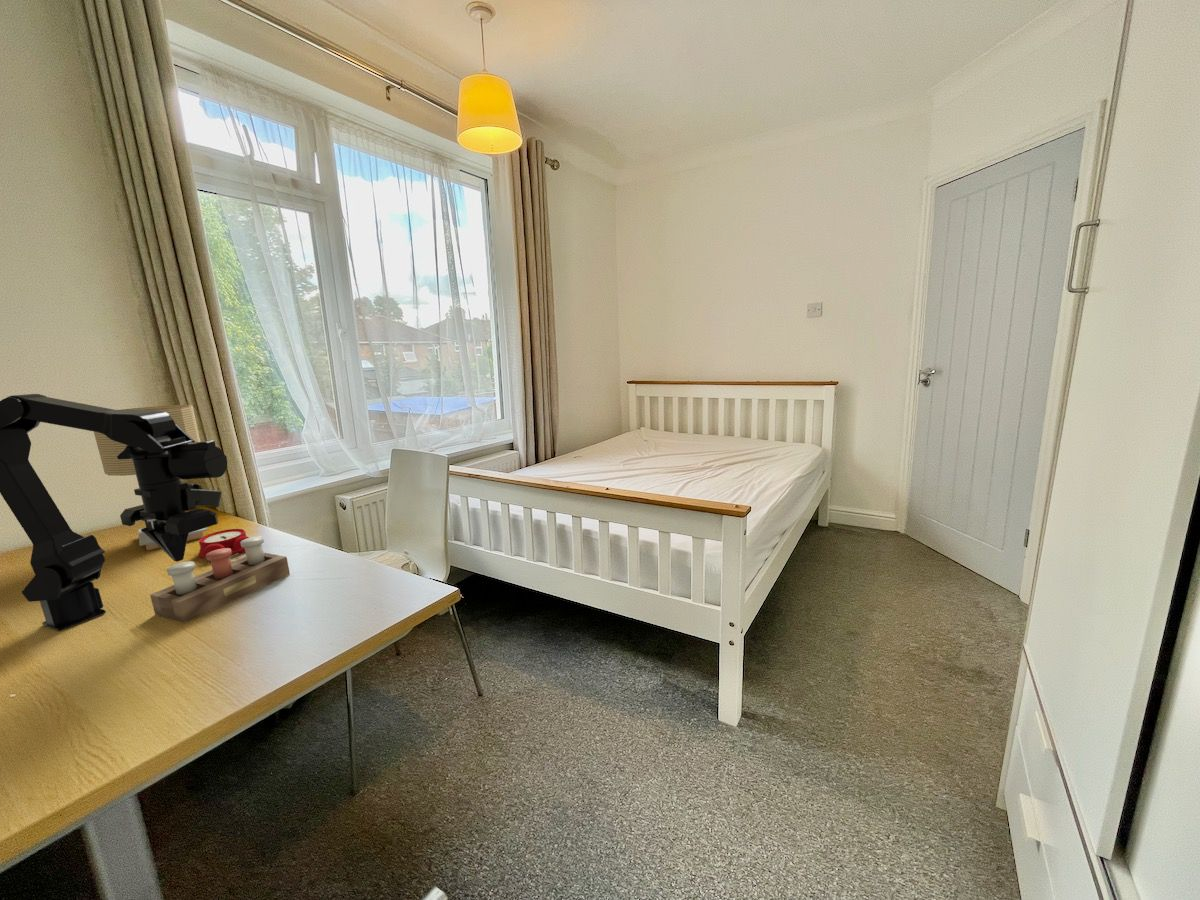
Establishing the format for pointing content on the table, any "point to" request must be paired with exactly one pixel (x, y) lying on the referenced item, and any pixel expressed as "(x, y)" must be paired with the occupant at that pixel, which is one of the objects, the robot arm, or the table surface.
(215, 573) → the red plug
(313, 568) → the table surface
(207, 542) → the alarm clock
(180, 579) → the left plug
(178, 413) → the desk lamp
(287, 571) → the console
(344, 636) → the table surface
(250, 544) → the right plug
